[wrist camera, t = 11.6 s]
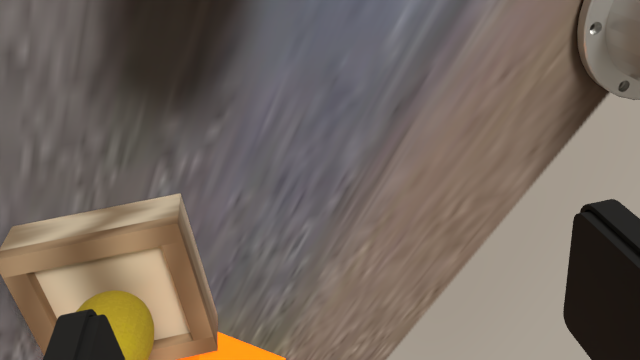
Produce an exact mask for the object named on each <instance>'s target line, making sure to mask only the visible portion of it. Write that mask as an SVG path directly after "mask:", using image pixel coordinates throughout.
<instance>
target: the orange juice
mask: <svg viewBox="0 0 640 360" xmlns="http://www.w3.org/2000/svg"><path fill="white" fill-rule="evenodd" d="M178 360H286V358H283V357H280V356H278V355H275V354H273V353H270V352H268V351H265V350H263V349H260V348H257V347H255V346H252V345H250V344H247V343H245V342H242V341H239V340H237V339H234V338H232V337H229V336H227V335H224V334H222V333H219V332H218V351H214V352H209V353H205V354H200V355H196V356H191V357H187V358H182V359H178Z"/></svg>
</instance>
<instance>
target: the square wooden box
mask: <svg viewBox="0 0 640 360" xmlns="http://www.w3.org/2000/svg"><path fill="white" fill-rule="evenodd" d="M0 274H1V276H2V277H3V279H4V281H5V283H6V285H7V287H8V289H9V291H10V292H11V294H12V296H13V298H14V300H15V302H16V304H17V306H18V307H19V309H20V311H21V313H22V315H23V317H24V319H25V320H26V322H27V324H28V326H29V328H30V330H31V332H32V334H33V335H34V337H35V339H36V341H37V343H38V345H39V347H40V348H41V350H42V352H43V354H44V355H45V353H46V350H47V347H48V344H49V341H50V338H51V335H52V333H53V330H54V327H55V324H56V321H57V319H58V317H59V316H61V315H64V314H69V313H74V312H76V311H77V310H78V309H79V307H80V306H81V305H82V304H83V303H84V302H85V301H86V300H88V299H90V298H91V297H93V296H95V295H96V294H99V293H102V292H105V291H112V290H118V291H125V292H129V293H131V294H133V295H135V296H137V297H138V298H139V299H141V300H142V301H143V302H144V303H145V305H146V306H147V307H148V309H149V311H150V313H151V316H152V319H153V322H154V343H153V347H152V351H151V353H150V356H149V358H148V360H178V359H182V358H187V357H191V356H196V355H200V354H205V353H209V352H214V351H218V319H217V312H216V309H215V305H214V302H213V299H212V295H211V292H210V289H209V286H208V282H207V279H206V276H205V272H204V269H203V266H202V262H201V259H200V256H199V253H198V249H197V246H196V243H195V239H194V236H193V233H192V229H191V226H190V223H189V219H188V216H187V213H186V210H185V206H184V203H183V200H182V196H181V193H180V194H175V195H170V196H165V197H160V198H155V199H149V200H144V201H139V202H134V203H129V204H124V205H119V206H114V207H109V208H104V209H99V210H94V211H89V212H84V213H79V214H74V215H69V216H64V217H58V218H53V219H48V220H43V221H38V222H33V223H28V224H23V225H18V226H13V227H12V228H11V230H10V232H9V233H8V235H7V237H6V239H5V241H4V242H3V244H2V246H1V248H0Z"/></svg>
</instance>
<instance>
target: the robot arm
mask: <svg viewBox="0 0 640 360" xmlns="http://www.w3.org/2000/svg"><path fill="white" fill-rule="evenodd" d="M577 37H578V50H579V54H580V58H581V62H582V64H583V66H584V67H585V69H586V71H587V73H588V75H589V76H590V77H591V78H592V79H593V80H594V81H595V82H596V84H598V85H599V86H601V87H603V88H604V89H606V90H607V91H609V92H611V93H613V94H615V95H617V96H619V97H624V98H628V99H633V100H635V99H636V100H637V99H638V100H640V0H584V2H583V5H582V8H581V12H580V15H579V23H578V30H577ZM564 320H565V323H566V325H567V328H568V329H569V331H570V332H571V334H572V335H573V336H574V337H575V339H576V340H577V341H578V343H579V344H580V345H581V346H582V348H583V349H584V350H585V352H586V353H587V354H588V356H589V357H590V358H591V360H640V219H639V218H638V217H637V216H635V215H634V214H633V213H632V212H631V211H629V210H628V209H627V208H625V206H623V205H622V204H621V203H620V202H618V201H616V200H613V199H610V200H605V201H601V202H596V203H591V204H587V205H584V206H583V207H582V208H581V211H580V213H579V214H576V215H575V217H574V221H573V230H572V239H571V248H570V257H569V266H568V275H567V284H566V294H565V302H564ZM43 360H125V357H124V355H123V353H122V350H121V348H120V346H119V343H118V341H117V339H116V337H115V334H114V332H113V330H112V327H111V325H110V323H109V320H108V318H107V317H106V316H105V315H104V314H102V315H97V314H96V312H95V311H94V310H93V309H88V310H83V311H78V312H74V313H69V314H64V315H61V316H59V317H58V319H57V321H56V324H55V327H54V330H53V333H52V335H51V338H50V341H49V344H48V347H47V350H46V353H45V355H44V358H43Z"/></svg>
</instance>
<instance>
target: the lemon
mask: <svg viewBox="0 0 640 360" xmlns="http://www.w3.org/2000/svg"><path fill="white" fill-rule="evenodd" d="M88 309H93V310H94V311H95V312H96V314H97V315H102V314H104V315H105V316H106V317H107V318H108V320H109V323H110V325H111V327H112V330H113V332H114V334H115V337H116V339H117V341H118V343H119V346H120V348H121V350H122V353H123V355H124V357H125V360H148V358H149V356H150V353H151V351H152V347H153V343H154V322H153V319H152V316H151V313H150V311H149V309H148V307H147V306H146V305H145V303H144V302H143V301H142V300H141V299H139V298H138V297H137V296H135V295H133V294H131V293H129V292H125V291H118V290H112V291H105V292H102V293H99V294H96V295H95V296H93V297H91V298H90V299H88V300H86V301H85V302H84V303H83V304H82V305H81V306H80V307H79V309H78V310H77V311H76V312H78V311H83V310H88Z"/></svg>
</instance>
